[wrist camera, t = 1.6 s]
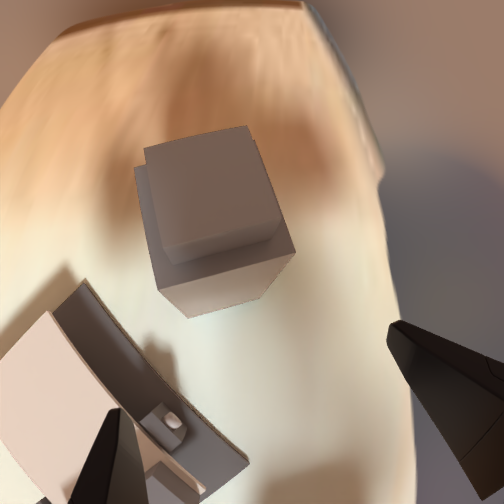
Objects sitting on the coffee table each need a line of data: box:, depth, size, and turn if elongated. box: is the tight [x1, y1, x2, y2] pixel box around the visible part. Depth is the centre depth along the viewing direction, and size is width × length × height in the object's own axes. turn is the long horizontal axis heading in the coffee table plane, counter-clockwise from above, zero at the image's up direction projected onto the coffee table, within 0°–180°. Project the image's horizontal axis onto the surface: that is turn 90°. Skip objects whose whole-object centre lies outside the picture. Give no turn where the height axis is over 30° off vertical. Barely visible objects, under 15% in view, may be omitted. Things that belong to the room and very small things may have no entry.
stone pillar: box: [134, 126, 296, 318], centre depth 16 cm, size 5×5×13 cm
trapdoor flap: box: [0, 311, 206, 504], centre depth 13 cm, size 14×10×3 cm
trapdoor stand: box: [36, 283, 250, 504], centre depth 16 cm, size 17×15×4 cm
